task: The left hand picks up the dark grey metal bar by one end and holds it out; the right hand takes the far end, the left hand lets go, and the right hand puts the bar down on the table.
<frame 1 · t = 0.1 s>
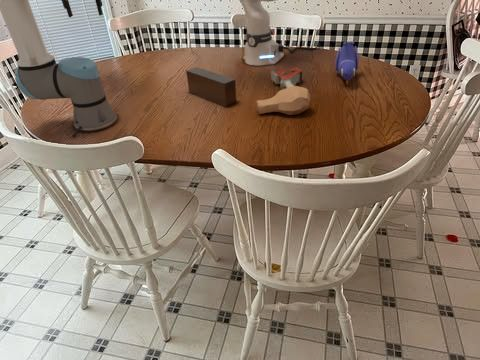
left hand: (86, 15, 157), 28 cm above the table, tool pointing down, fingers open, 13 cm apart
tape dispenser: (287, 87, 151), on the table
toy: (345, 79, 155), on the table
squash: (283, 112, 132), on the table
bar: (211, 97, 147), on the table
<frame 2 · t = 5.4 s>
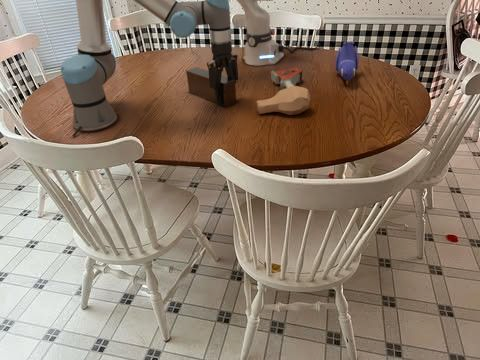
left hand: (225, 101, 141), 1 cm above the table, tool pointing down, fingers closed on bar, 6 cm apart
right hand: (216, 1, 143), 33 cm above the table, tool pointing down, fingers open, 8 cm apart
bar: (211, 97, 147), on the table, touching left hand
everything else where it was.
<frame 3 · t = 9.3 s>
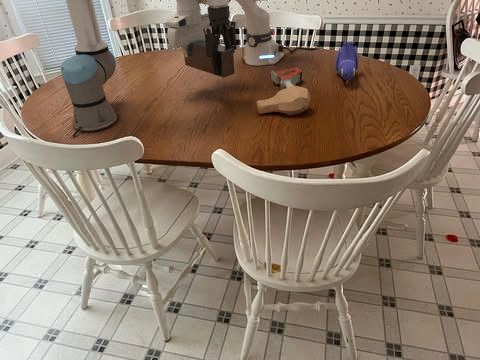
left hand: (223, 72, 134), 12 cm above the table, tool pointing down, fingers closed on bar, 6 cm apart
right hand: (194, 54, 143), 16 cm above the table, tool pointing down, fingers closed on bar, 5 cm apart
bar: (209, 69, 140), point 12 cm above the table, touching left hand, right hand
everything else where it was.
when the left hand's fingers open (12 cm above the table, at t = 10.4 s): bar stays where it is, held by the right hand.
when the right hand's fingers open (6 cm above the table, at t = 17.4 s): bar drops 1 cm, on the table.
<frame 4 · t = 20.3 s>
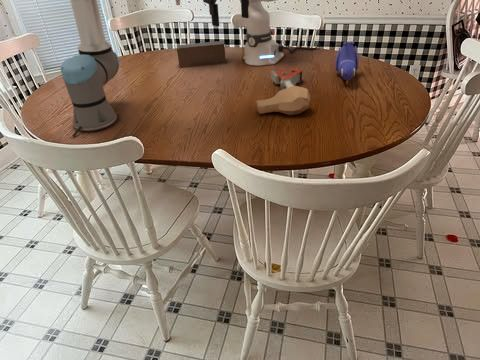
left hand: (230, 21, 120), 31 cm above the table, tool pointing down, fingers open, 13 cm apart
right hand: (178, 3, 165), 29 cm above the table, tool pointing down, fingers open, 8 cm apart
bar: (202, 63, 183), on the table
everything else where it was.
at the end: bar inside the target area (7.9 cm from its centre), on the table; the left hand is holding nothing; the right hand is holding nothing; bar at rest at the end (0.0 cm/s) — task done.
